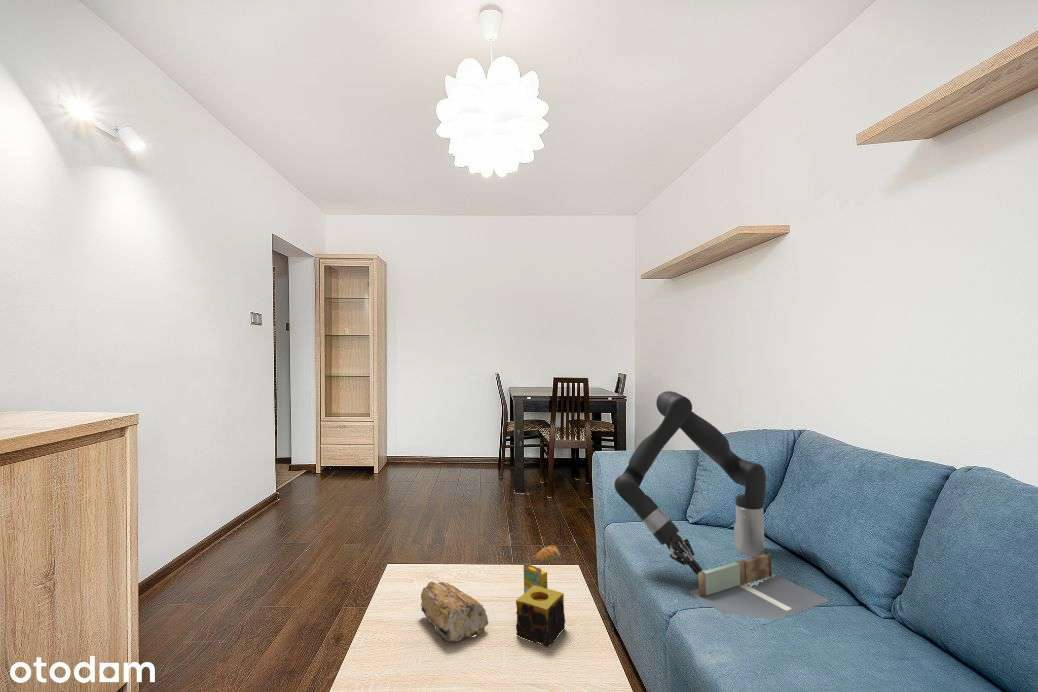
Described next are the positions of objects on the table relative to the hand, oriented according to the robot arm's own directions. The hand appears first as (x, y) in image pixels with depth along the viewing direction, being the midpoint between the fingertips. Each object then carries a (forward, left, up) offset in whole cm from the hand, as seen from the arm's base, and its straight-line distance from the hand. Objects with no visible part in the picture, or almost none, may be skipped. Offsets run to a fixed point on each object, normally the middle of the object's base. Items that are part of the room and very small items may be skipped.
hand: (699, 572), depth 157 cm
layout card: (+12, +11, -5) cm, 17 cm away
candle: (-2, -55, -6) cm, 55 cm away
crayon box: (-17, -49, -6) cm, 52 cm away
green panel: (+4, +5, -5) cm, 8 cm away
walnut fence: (+4, +20, -5) cm, 22 cm away
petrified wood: (-17, -75, -6) cm, 78 cm away
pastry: (-43, -31, -6) cm, 53 cm away
